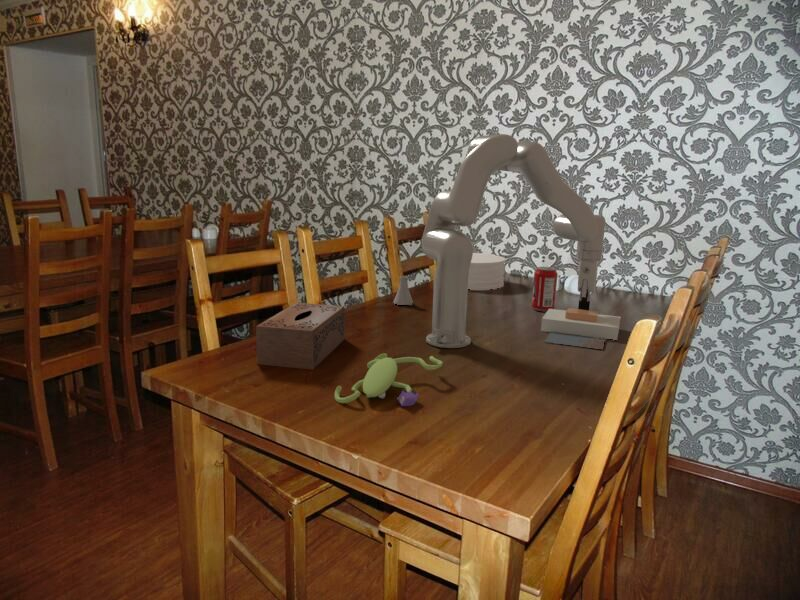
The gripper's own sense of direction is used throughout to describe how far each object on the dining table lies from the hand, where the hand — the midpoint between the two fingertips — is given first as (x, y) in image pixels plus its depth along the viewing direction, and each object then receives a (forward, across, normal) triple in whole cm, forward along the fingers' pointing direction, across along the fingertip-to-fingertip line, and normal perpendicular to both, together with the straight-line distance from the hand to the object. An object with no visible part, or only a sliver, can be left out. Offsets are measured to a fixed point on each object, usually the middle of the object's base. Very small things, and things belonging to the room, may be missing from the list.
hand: (583, 312), depth 180 cm
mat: (+5, -17, 0) cm, 18 cm away
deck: (+5, -4, 0) cm, 6 cm away
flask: (+5, +1, +62) cm, 62 cm away
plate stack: (+5, +50, +51) cm, 72 cm away
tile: (+1, -5, 0) cm, 5 cm away
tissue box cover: (+5, -60, +65) cm, 89 cm away
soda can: (+5, +17, +15) cm, 23 cm away
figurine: (+5, -72, +35) cm, 80 cm away
